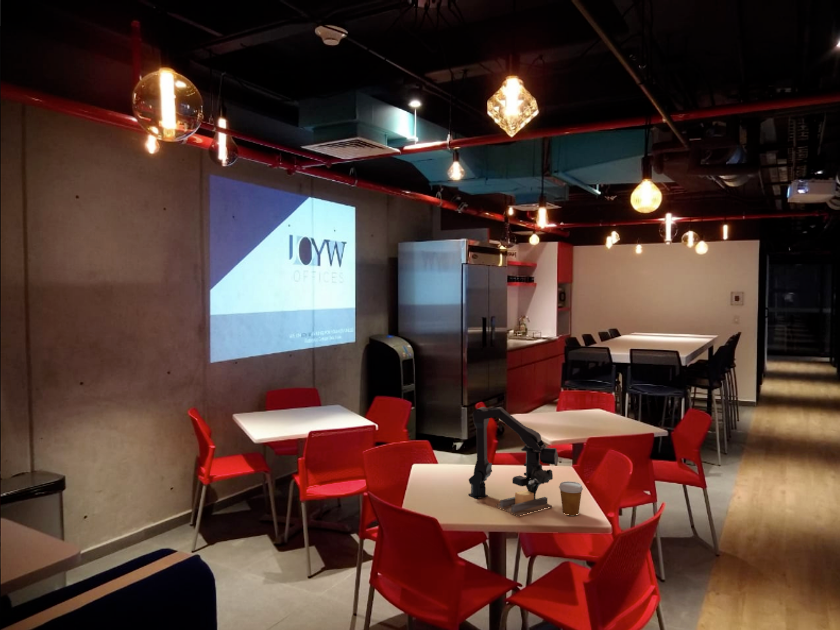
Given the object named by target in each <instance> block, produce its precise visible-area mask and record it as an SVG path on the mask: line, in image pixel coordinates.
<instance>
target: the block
mask: <svg viewBox="0 0 840 630" xmlns="http://www.w3.org/2000/svg"><path fill="white" fill-rule="evenodd" d="M514 494H515V495H514V497H515V504H518V503H522V502H526V501H530V500H534V493H532V492H529V491H528V489H527V490H525V489H523V490H521V491H517V492H515V493H514Z"/></svg>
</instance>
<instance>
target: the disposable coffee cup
mask: <svg viewBox="0 0 840 630" xmlns="http://www.w3.org/2000/svg"><path fill="white" fill-rule="evenodd" d="M558 488H559V490H560V500H561V508H562V514H563V513H565V514H569V515H576V514H578V513H579V514H580V504H581V498H582V492H583V490H584V487H583V485H582V483H580V482H576V481H570V480H569V481H568V480H567V481H562V482H560V484H559V486H558ZM565 514H564V515H565Z"/></svg>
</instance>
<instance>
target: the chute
mask: <svg viewBox="0 0 840 630" xmlns="http://www.w3.org/2000/svg"><path fill="white" fill-rule="evenodd" d="M495 507H496V508H498V507H499V508H498V509H500V508H501V509H500V510H502V509H504V510H506V511H505V512H507V511H508V512H507V513H509V512H510V513H509V514H511V513H513V514H515V515H514V516H516V515H517V516H516V517H518V516H519V517H521V516H520V515H523V514H527V513H530V512H534V511H538V510H541V509H544V508H548V507H552V508H553V505H552V504H549V503H548V497H547V496H543V497H539V498H536V496H535V497H534V500H530V501H526V502H522V503H518V504H515V496H513V497H508V498H504V499H501V500H499V503H496V504H495ZM504 510H503V511H504ZM538 512H539V511H538ZM534 513H535V512H534ZM513 514H512V515H513ZM527 515H528V514H527ZM523 516H524V515H523Z"/></svg>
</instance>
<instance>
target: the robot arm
mask: <svg viewBox="0 0 840 630" xmlns="http://www.w3.org/2000/svg"><path fill="white" fill-rule="evenodd" d="M494 418H497V419H499V420H500V421H501V422H502V423H503V424H505V425H506V426H508V427H509V428H510V429H511V430H512V431H514V432H515V433H516V434H517V435H518V436H519V438H520V440H521V441H522V442H523V443H524V446H523V447H522V448H521V449H520V450H521V451H522V452H525V463H523V466H524V467H525V472H523V475H515V476H513V477H512V484H513V485H516V486H519V487H526V489H527V491H529V492H532V493H534V497H535V498H536V494H537V491H538V488H539V487H540V485H544V484H546V483H547V484H548V483H549V482H550V481H552V480H553V479H554V477H553V470H552V469H550V468H549V469H544V468H543V466H542V464H546V465H548V464H549V465H552V466H553V465H554V466H557V465H558V461H559V454H558V450H557V448H556V447H547V445H546V444H545V443H544V441H543V439H542V435H541V434H540V433H539V432H538V431H536V430H534V429H533V428H531V427H527V426H526V425H524V424H523V423H522V422H521V421H519V420H518V419H517V418H515V417H514V416H513V415H512V414H510V413H509V412H507V411H506V410H505V409H504V408H503V407H502V406H499V407H486V406H480V407H479V408H478V407H477V408H476V409H475V410H473V412H472V419H473V424H474V427H475V429H476V462H475V465H474V470H473V475H471V477H470V478H468V482H469V485H470V493H467V494H468V496H470V497H472V498H474V499H482V498H487V497H488V496H489V495H488V494H487V491H486V490H487V488H486V482H485V481H487V479H488V478H489V477H490V476H491V474H492V473H493V470H492V469H493V468H492V467H493V466H492V465H493V463H492V462H489V460H488V433H487V432H488V431H487V430H488V424H489V421H490V419H494ZM540 462H541V463H542V464H541V463H540Z"/></svg>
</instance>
